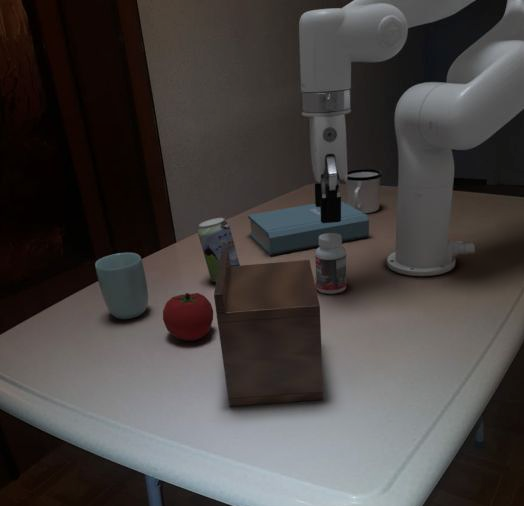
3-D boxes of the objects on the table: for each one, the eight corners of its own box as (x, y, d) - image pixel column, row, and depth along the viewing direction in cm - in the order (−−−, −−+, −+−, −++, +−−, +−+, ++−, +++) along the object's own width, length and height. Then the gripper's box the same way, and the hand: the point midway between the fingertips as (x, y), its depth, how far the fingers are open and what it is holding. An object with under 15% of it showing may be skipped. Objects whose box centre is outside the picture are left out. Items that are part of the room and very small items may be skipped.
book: (338, 220, 136) (338, 199, 133) (368, 238, 122) (369, 215, 120) (250, 236, 131) (248, 215, 128) (271, 256, 117) (269, 233, 115)
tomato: (214, 320, 93) (208, 280, 89) (218, 343, 86) (212, 300, 82) (166, 328, 92) (158, 287, 89) (166, 351, 85) (158, 308, 82)
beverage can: (238, 287, 105) (230, 224, 99) (200, 287, 106) (191, 225, 100) (245, 274, 110) (239, 214, 104) (210, 274, 111) (201, 215, 106)
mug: (348, 204, 147) (348, 169, 143) (384, 204, 144) (385, 168, 139) (337, 217, 138) (336, 180, 133) (375, 218, 134) (375, 180, 130)
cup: (113, 328, 94) (100, 272, 89) (103, 312, 100) (89, 259, 95) (157, 315, 96) (147, 261, 92) (144, 300, 103) (134, 249, 98)
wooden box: (313, 342, 84) (308, 243, 76) (323, 399, 70) (319, 286, 63) (233, 348, 84) (221, 250, 76) (229, 406, 71) (213, 294, 63)
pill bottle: (310, 290, 100) (308, 238, 95) (327, 280, 104) (326, 229, 99) (335, 297, 97) (334, 243, 92) (352, 286, 100) (352, 233, 96)
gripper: (359, 107, 77) (357, 227, 86) (343, 96, 93) (343, 199, 101) (305, 111, 78) (309, 230, 86) (298, 99, 93) (301, 202, 101)
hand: (327, 213), depth 93 cm, fingers open, 9 cm apart
